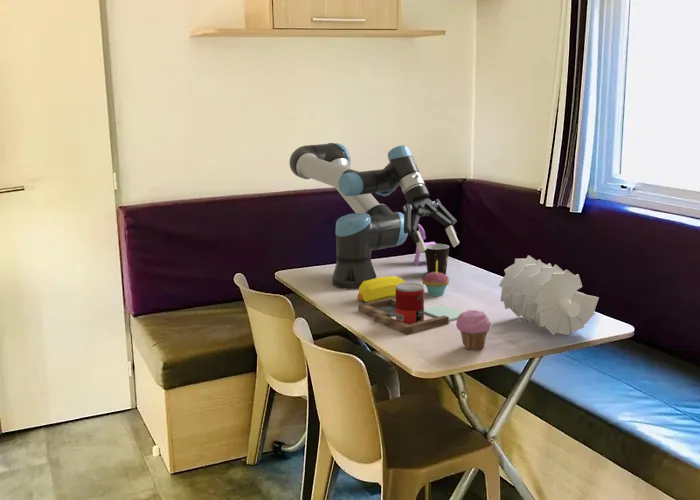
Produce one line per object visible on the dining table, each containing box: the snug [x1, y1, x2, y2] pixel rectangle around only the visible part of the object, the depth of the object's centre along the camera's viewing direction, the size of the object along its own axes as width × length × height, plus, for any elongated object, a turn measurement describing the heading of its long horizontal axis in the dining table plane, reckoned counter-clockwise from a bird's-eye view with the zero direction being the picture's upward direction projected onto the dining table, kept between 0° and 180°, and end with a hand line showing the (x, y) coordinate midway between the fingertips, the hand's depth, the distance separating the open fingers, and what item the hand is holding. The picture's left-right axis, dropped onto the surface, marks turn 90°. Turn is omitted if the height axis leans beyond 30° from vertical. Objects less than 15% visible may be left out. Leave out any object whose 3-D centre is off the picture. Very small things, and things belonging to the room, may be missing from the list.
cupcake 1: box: [422, 259, 450, 297], centre depth 249 cm, size 9×8×12 cm
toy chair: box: [413, 223, 437, 267], centre depth 288 cm, size 8×9×15 cm
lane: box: [357, 297, 450, 336], centre depth 227 cm, size 26×15×2 cm, turn 34°
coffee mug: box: [424, 243, 450, 276], centre depth 272 cm, size 12×9×10 cm
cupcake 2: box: [455, 309, 492, 351], centre depth 200 cm, size 9×9×10 cm
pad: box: [424, 304, 464, 322], centre depth 229 cm, size 12×8×1 cm, turn 34°
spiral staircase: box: [498, 254, 600, 336], centre depth 215 cm, size 18×18×25 cm
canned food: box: [395, 282, 425, 324], centre depth 221 cm, size 8×8×11 cm
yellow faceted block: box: [356, 275, 406, 303], centre depth 246 cm, size 18×7×8 cm
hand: (440, 248), depth 246 cm, fingers open, 13 cm apart
